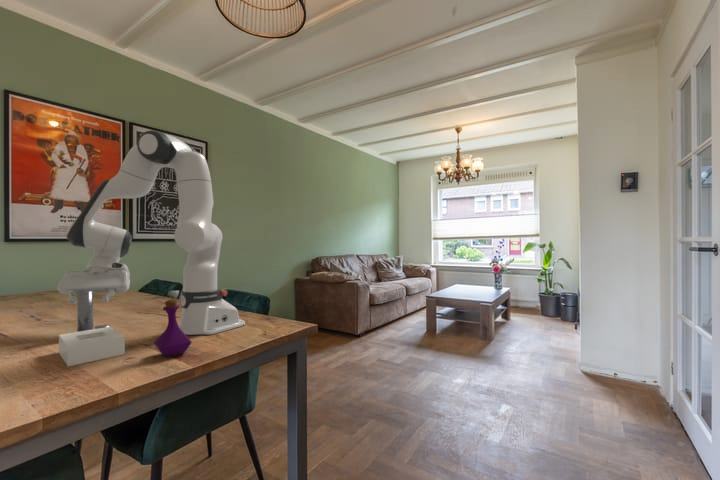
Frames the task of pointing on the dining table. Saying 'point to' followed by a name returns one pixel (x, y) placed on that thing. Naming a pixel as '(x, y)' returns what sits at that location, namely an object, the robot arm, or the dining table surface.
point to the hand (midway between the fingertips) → (88, 301)
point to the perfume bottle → (172, 332)
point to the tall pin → (84, 310)
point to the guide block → (91, 345)
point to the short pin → (102, 326)
